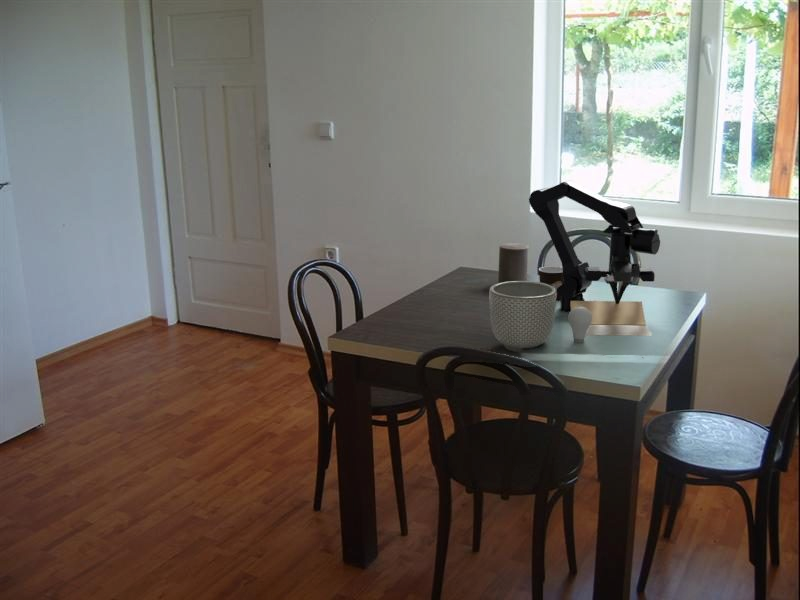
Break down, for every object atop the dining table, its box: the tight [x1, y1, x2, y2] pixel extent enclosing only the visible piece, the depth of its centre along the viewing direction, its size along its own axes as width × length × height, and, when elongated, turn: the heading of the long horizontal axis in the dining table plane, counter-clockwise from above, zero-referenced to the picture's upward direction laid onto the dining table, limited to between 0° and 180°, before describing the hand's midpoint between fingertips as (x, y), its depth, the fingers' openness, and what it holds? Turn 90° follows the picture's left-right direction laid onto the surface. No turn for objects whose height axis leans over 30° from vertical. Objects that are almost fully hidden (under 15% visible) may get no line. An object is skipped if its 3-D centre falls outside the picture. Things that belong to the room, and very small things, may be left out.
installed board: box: [585, 325, 653, 337], centre depth 225 cm, size 20×9×2 cm, turn 84°
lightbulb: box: [567, 307, 592, 344], centre depth 215 cm, size 6×6×11 cm
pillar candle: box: [497, 241, 530, 284], centre depth 276 cm, size 10×10×15 cm
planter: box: [488, 280, 557, 353], centre depth 215 cm, size 17×17×16 cm
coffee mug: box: [538, 266, 564, 302], centre depth 258 cm, size 12×9×10 cm
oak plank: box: [570, 300, 647, 326], centre depth 233 cm, size 20×9×1 cm
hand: (617, 303), depth 235 cm, fingers closed
